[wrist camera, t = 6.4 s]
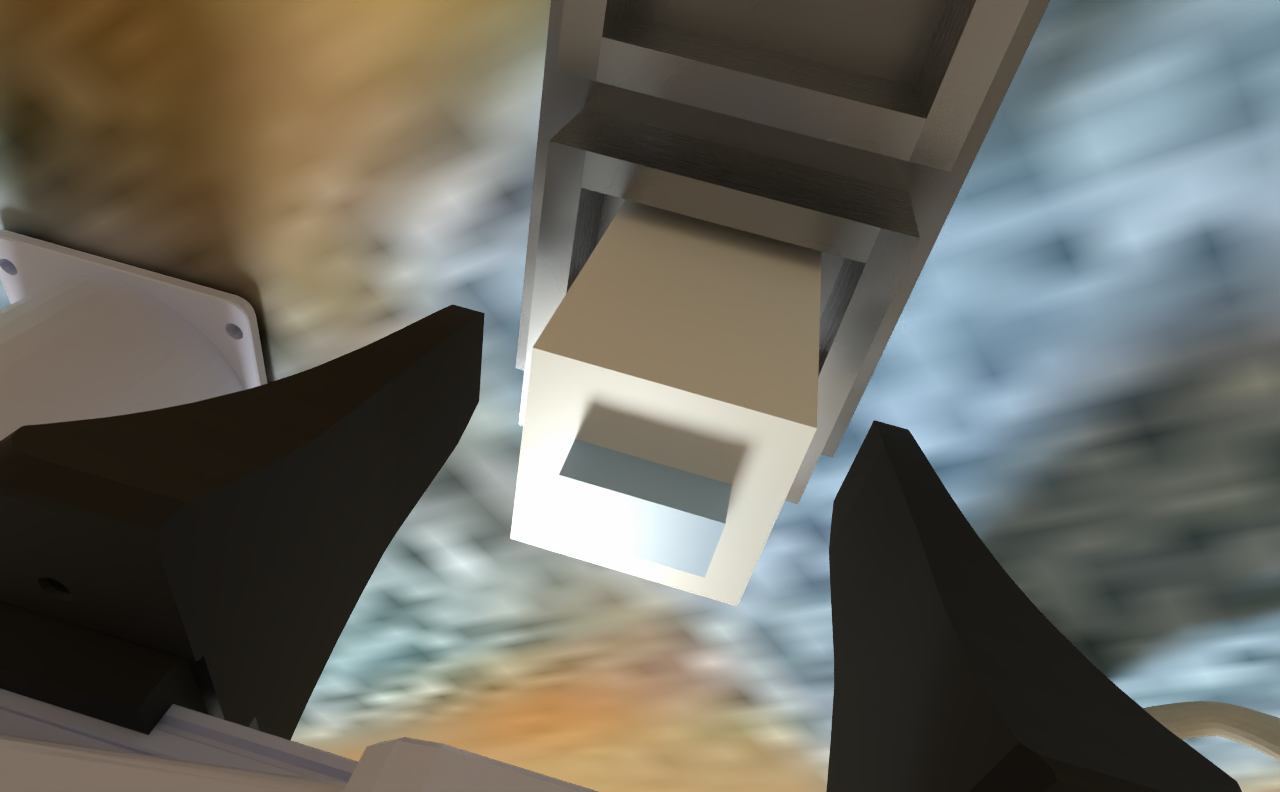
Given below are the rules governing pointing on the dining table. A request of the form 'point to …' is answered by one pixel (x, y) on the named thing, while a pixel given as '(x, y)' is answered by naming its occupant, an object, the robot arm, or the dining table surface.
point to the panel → (771, 146)
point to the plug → (672, 402)
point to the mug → (1221, 723)
